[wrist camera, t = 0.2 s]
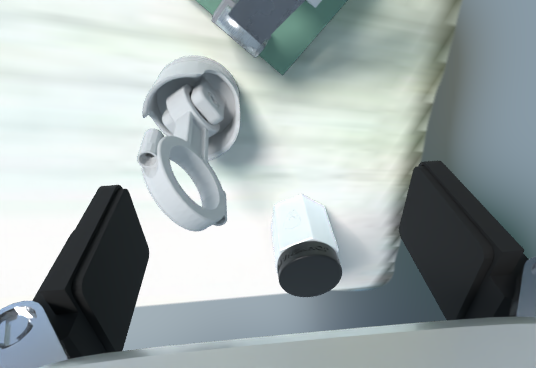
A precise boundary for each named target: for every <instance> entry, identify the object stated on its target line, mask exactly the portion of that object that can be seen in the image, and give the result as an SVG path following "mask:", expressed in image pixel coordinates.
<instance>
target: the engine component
mask: <svg viewBox="0 0 536 368" xmlns="http://www.w3.org/2000/svg"><path fill="white" fill-rule="evenodd" d="M142 114H143V118H145V117H146V116H147V115H149V116H150V117H151V118H152V119H153V121H154V122H155V123H156V125H157V126H158V127H159V129H160V130H161V131H162V132H163V133H164V134H165V135H166V137H164V135H163V134H162V132H161V131H159V130H157V129H148V130H147V131H146V132H145V133H144V137H143V140H142V143H141V146H140V150H139V153H138V156H137V161H138V163H139V164H140V165H141V166H142V173H143V177H144V181H145V183H146V186H147V188H148V190H149V192H150V194H151V196H152V197H153V199H154V201H155V202H156V204H157V205H158V206H159V208H160V209H161V210H162V211H163V212H164V213H165V214H166V215H167V216H168V217H169V218H170V219H171V220H172V221H173V222H175V223H176V224H178V225H179V226H181V227H183V228H185V229H187V230H190V231H202V230H204V229H206V228H207V227H209V226H211V225H216V226H220V225H223V224H225V223H226V221H227V211H226V210H227V206H226V193H225V191H223V189H222V187H221V184H220V182H219V180H218V178H217V176H216V174H215V172H214V171H213V169H212V167H211V166H210V165H209V163H208V160H212V159H214V158H217V157H219V156H221V155H222V154H224V153H225V152H226V151H227V150H228V149H229V148H230V147H231V146H232V145H233V143H234V142H235V140H236V138H237V135H238V133H239V128H240V96H239V90H238V86H237V84H236V82H235V80H234V78H233V76H232V75H231V74H230V72H229V71H228V70H227V69H226V68H225V67H224V66H222V65H221V64H219V63H218V62H216V61H214V60H212V59H209V58H207V57H203V56H192V55H191V56H185V57H181V58H178V59H176V60H174V61H172V62H171V63H169V64H168V65H167V66H166V67H165V68H164V69H163V70H162V71H161V73H160V74H159V76H158V78H157V79H156V81H155V82H154V84H153V86H152V87H151V89H150V91H149V92H148V94H147V96H146V98H145V101H144V104H143V111H142ZM169 159H170V160H172V161H174V162H175V163H177V164H178V165H179V166H180V167H181V168H183V169H184V170H185V171H186V173H187V174H188V175H189V176H190V178H191V179H192V180H193V182H194V184H195V185H196V187H197V189H198V191H199V194H200V197H201V200H202V207H201V206H199V205H198V204H196V203H195V202H194V201H193V200H192V199H191V198H190V197H189V196H188V195H187V194H186V193H185V192H184V190H183V189H182V188H181V186H180V185H179V183H178V181H177V180H176V178H175V176H174V174H173V171H172V169H171V165H170V160H169Z"/></svg>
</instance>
